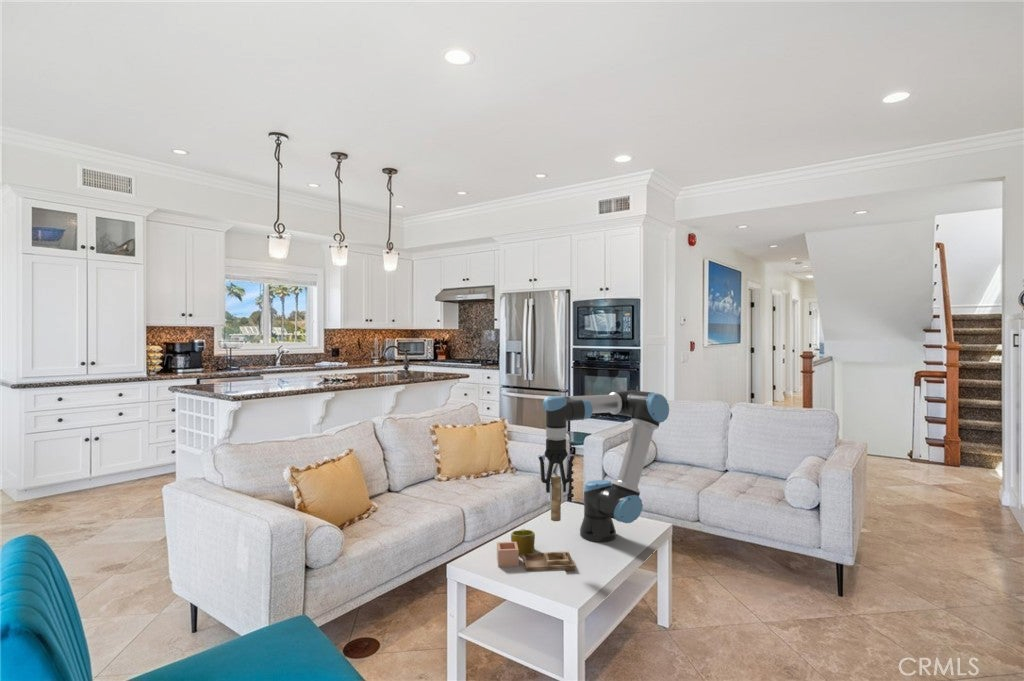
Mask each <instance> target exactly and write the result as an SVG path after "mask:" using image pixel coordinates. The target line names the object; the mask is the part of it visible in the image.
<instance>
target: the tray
mask: <svg viewBox="0 0 1024 681" xmlns="http://www.w3.org/2000/svg"><path fill="white" fill-rule="evenodd" d="M521 556H522V557H521V558H522V562H523V565H524V568H525V571H526V572H533V571H534V572H535V571H552V570H557V571H558V570H564V572H565V573H567V572H570V573H571V572H576V563H575V562H574V560H573V558H572V556H571V554H570V552H569V551H544V552H534V553H527V554H522V555H521Z"/></svg>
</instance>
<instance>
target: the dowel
mask: <svg viewBox="0 0 1024 681" xmlns="http://www.w3.org/2000/svg"><path fill="white" fill-rule="evenodd" d="M561 482H562V479H561V475H551V480H550V483H551V484H552V502H550V520H551V521H552V522H561V520H562V518H561V517H562V514H561V513H562V512H561V508H562V507H561V506H562V504H561V503H562V502H561Z"/></svg>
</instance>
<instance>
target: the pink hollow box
mask: <svg viewBox="0 0 1024 681" xmlns="http://www.w3.org/2000/svg"><path fill="white" fill-rule="evenodd" d="M519 556H520V555H519V549H518V546H517V542H511V541H500V542H496V563H497V568H503V567H505V568H507V567H520V566H519V565H520V564H519V562H520V561H519Z"/></svg>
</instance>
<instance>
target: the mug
mask: <svg viewBox="0 0 1024 681" xmlns="http://www.w3.org/2000/svg"><path fill="white" fill-rule="evenodd" d="M535 536H536V533H535V532H534V531H533V530H530V529H525V528H523V529H522V528H521V529H520V530H518V529H517V530H514V531H512V532H511V534H510V542H517V546H518V549H519V556H522V554H527V553H535V543H536V542H535V540H536V537H535Z"/></svg>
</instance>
